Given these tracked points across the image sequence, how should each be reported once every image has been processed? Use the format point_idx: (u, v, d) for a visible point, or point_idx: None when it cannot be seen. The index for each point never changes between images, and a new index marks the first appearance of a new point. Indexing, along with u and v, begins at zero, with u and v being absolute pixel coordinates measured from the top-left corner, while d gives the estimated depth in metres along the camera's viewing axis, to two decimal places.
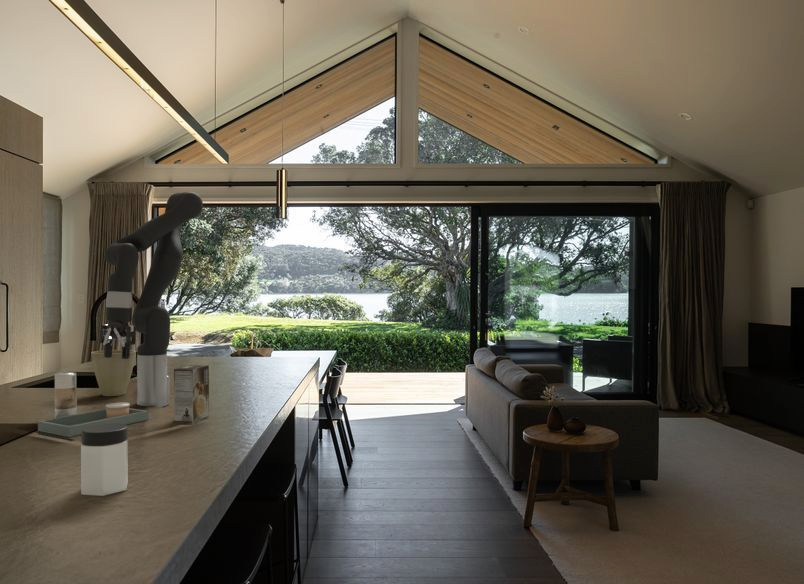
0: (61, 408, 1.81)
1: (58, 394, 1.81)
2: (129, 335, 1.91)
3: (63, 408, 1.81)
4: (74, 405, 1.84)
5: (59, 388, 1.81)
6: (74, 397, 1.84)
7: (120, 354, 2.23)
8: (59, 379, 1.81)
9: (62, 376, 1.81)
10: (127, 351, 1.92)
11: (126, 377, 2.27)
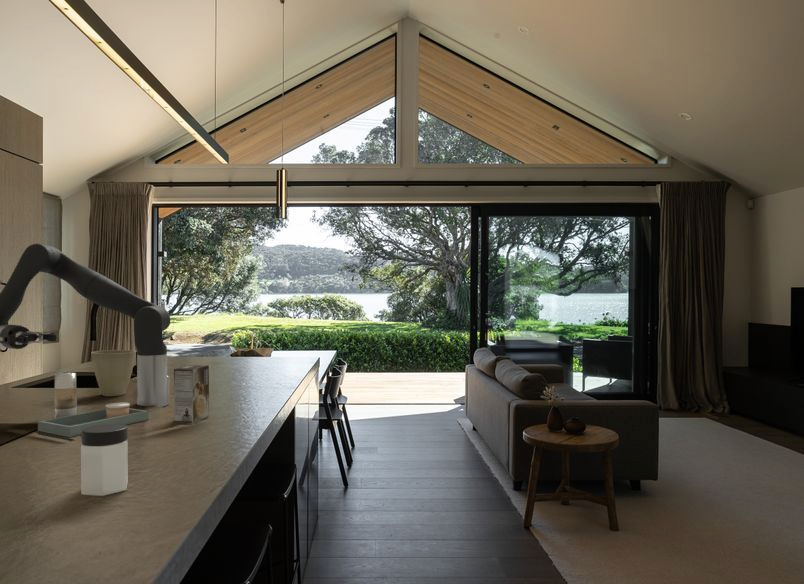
0: (61, 408, 1.81)
1: (58, 394, 1.81)
2: (4, 342, 1.87)
3: (63, 408, 1.81)
4: (74, 405, 1.84)
5: (59, 388, 1.81)
6: (74, 397, 1.84)
7: (120, 354, 2.23)
8: (59, 379, 1.81)
9: (62, 376, 1.81)
10: (19, 340, 1.86)
11: (126, 377, 2.27)
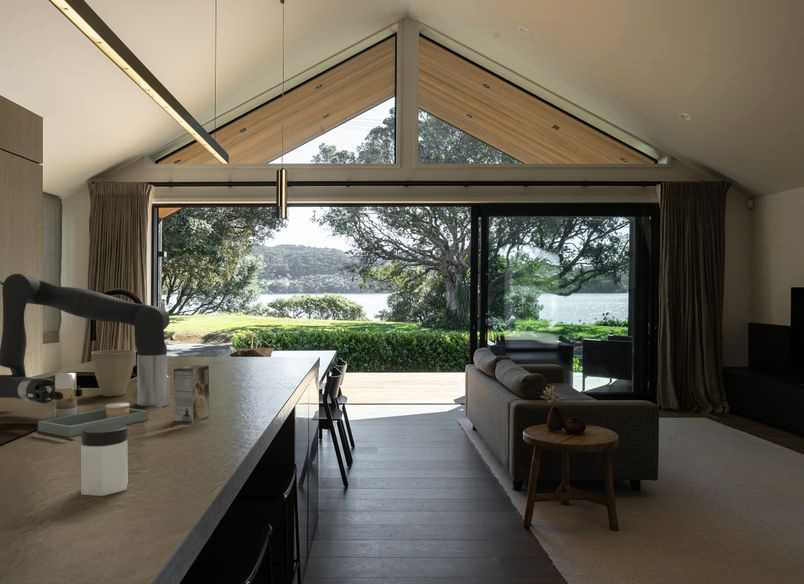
0: (61, 408, 1.81)
1: None
2: (35, 398, 1.81)
3: (63, 408, 1.81)
4: (74, 405, 1.84)
5: (59, 388, 1.81)
6: (74, 397, 1.84)
7: (120, 354, 2.24)
8: (59, 379, 1.81)
9: (62, 376, 1.81)
10: (52, 396, 1.80)
11: (126, 377, 2.27)
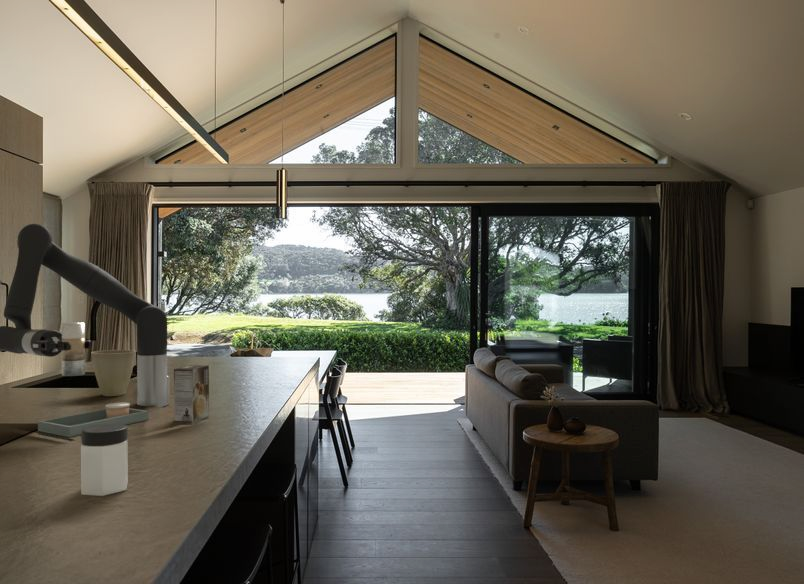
0: (69, 360, 1.66)
1: None
2: (40, 349, 1.65)
3: (71, 360, 1.66)
4: (83, 357, 1.68)
5: (66, 338, 1.66)
6: (83, 348, 1.68)
7: (120, 354, 2.23)
8: (66, 328, 1.66)
9: (70, 325, 1.66)
10: (59, 346, 1.65)
11: (126, 377, 2.27)
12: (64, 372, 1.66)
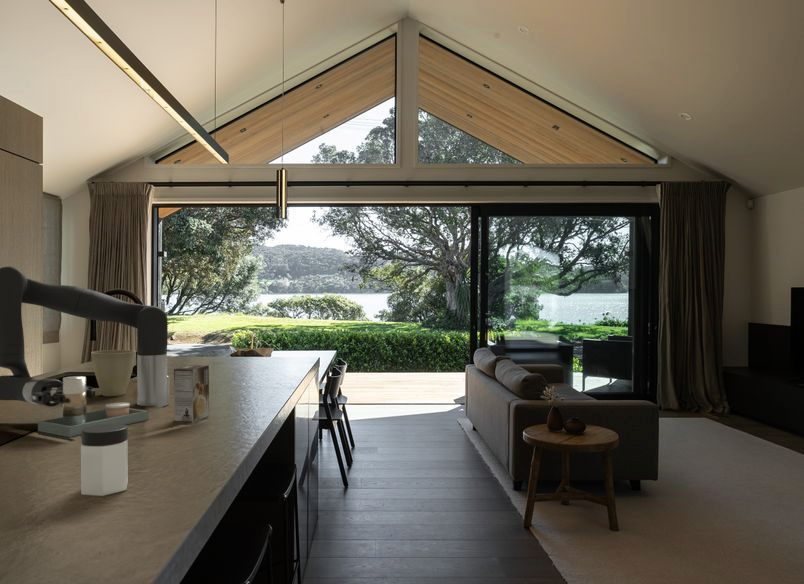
0: (70, 415, 1.66)
1: (66, 400, 1.66)
2: (37, 401, 1.65)
3: (72, 415, 1.66)
4: (84, 412, 1.68)
5: (68, 393, 1.66)
6: (84, 403, 1.68)
7: (120, 354, 2.23)
8: (67, 383, 1.66)
9: (71, 380, 1.66)
10: (54, 399, 1.64)
11: (126, 377, 2.27)
12: None
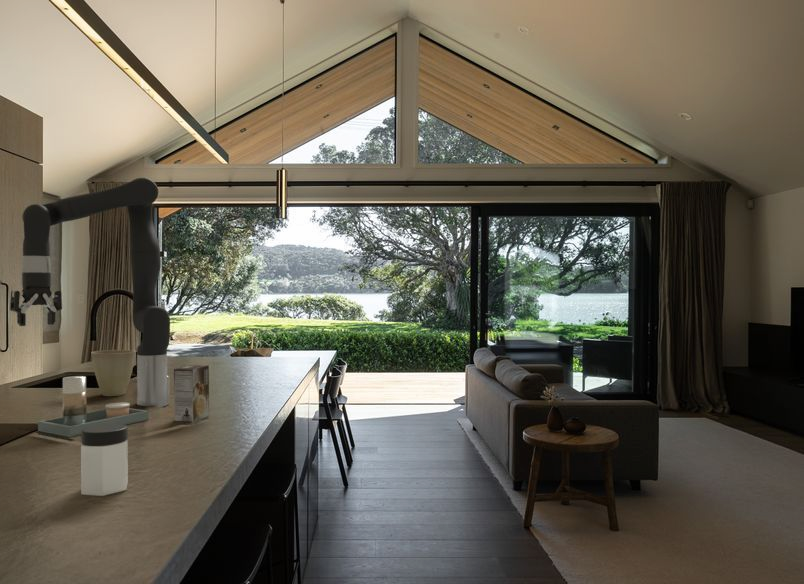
0: (70, 415, 1.66)
1: (66, 399, 1.66)
2: (11, 301, 1.82)
3: (72, 415, 1.66)
4: (84, 411, 1.68)
5: (68, 393, 1.66)
6: (84, 403, 1.68)
7: (120, 354, 2.23)
8: (68, 383, 1.66)
9: (71, 380, 1.66)
10: (18, 318, 1.83)
11: (126, 377, 2.27)
12: None
